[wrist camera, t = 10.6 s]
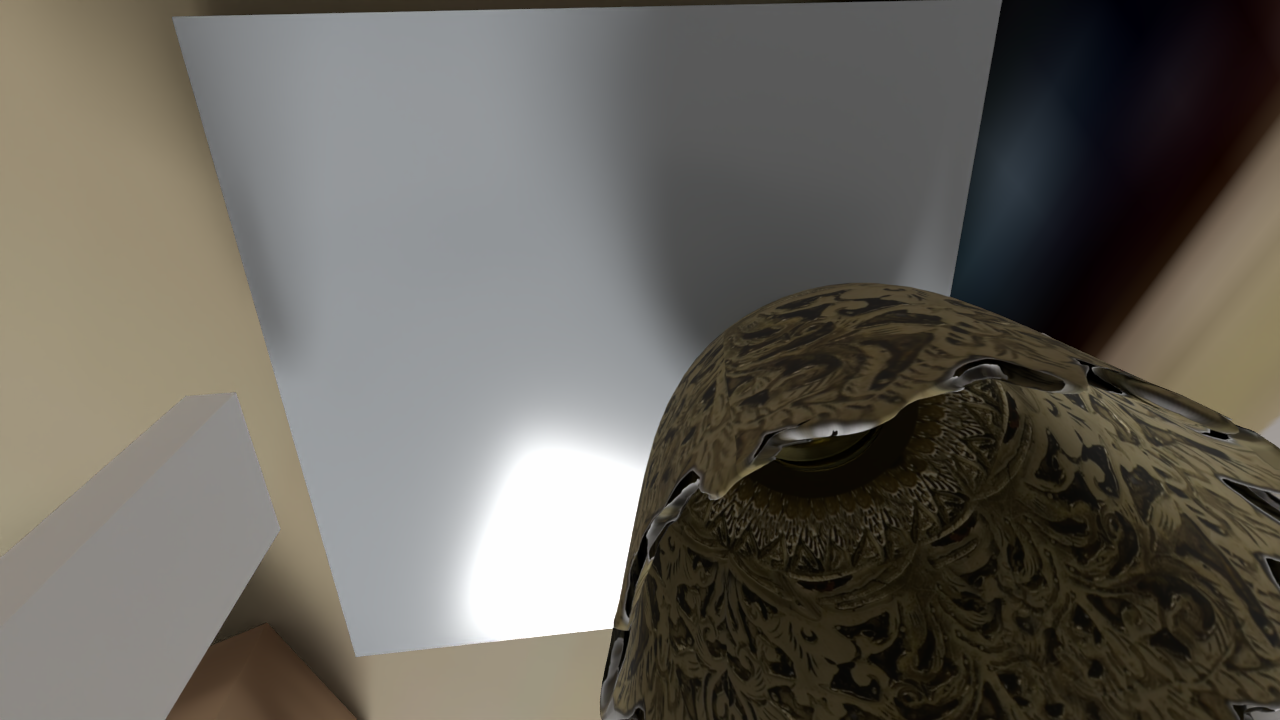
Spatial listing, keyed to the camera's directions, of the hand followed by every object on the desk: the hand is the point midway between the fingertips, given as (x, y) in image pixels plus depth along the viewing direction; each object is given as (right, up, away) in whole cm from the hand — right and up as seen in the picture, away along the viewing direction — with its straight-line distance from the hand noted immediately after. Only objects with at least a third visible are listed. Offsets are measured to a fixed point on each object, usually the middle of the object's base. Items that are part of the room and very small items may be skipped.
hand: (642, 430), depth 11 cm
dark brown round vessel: (+3, +1, +3) cm, 4 cm away
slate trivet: (0, +1, +3) cm, 4 cm away
